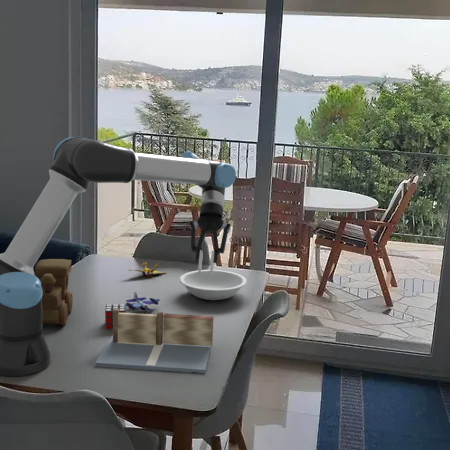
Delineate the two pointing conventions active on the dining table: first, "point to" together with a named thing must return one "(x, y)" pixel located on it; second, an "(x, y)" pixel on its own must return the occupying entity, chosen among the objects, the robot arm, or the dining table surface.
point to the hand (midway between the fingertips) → (205, 271)
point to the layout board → (154, 356)
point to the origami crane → (148, 269)
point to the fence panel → (188, 329)
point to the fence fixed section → (138, 327)
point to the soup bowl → (213, 284)
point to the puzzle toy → (110, 314)
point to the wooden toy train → (55, 289)
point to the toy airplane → (141, 303)
